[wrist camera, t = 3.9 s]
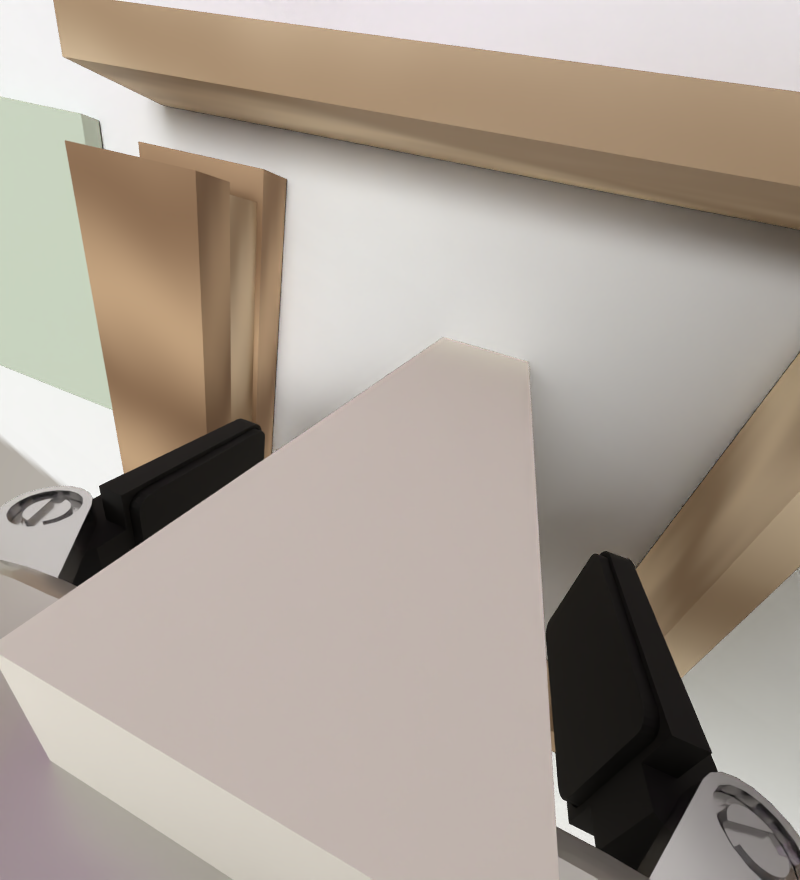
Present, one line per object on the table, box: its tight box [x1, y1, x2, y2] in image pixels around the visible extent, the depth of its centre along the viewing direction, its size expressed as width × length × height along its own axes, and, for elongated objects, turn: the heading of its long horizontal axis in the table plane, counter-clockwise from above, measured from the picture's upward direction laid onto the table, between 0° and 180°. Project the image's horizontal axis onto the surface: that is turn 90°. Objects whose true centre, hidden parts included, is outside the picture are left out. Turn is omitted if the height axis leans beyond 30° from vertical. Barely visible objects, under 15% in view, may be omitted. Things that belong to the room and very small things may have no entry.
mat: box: [0, 97, 113, 410], centre depth 17 cm, size 12×12×1 cm
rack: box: [53, 0, 800, 752], centre depth 13 cm, size 20×22×3 cm
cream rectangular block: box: [0, 337, 559, 880], centre depth 9 cm, size 8×3×12 cm, turn 167°
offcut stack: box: [65, 140, 287, 474], centre depth 14 cm, size 15×5×4 cm, turn 167°
